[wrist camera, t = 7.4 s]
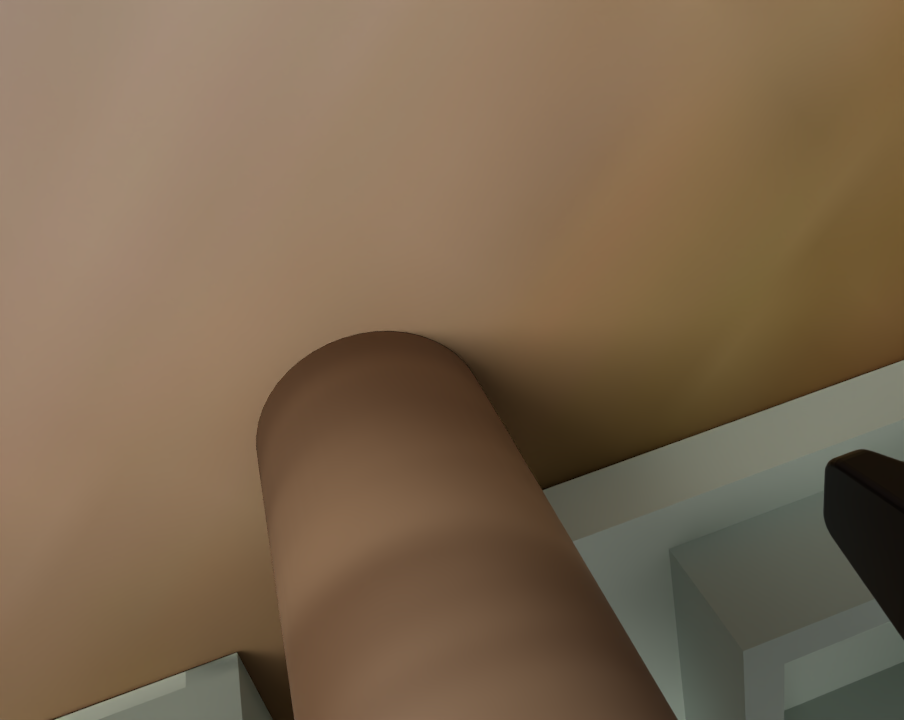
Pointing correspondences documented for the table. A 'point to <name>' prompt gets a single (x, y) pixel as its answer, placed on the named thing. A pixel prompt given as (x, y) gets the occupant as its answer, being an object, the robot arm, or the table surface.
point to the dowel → (427, 552)
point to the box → (187, 697)
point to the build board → (748, 561)
